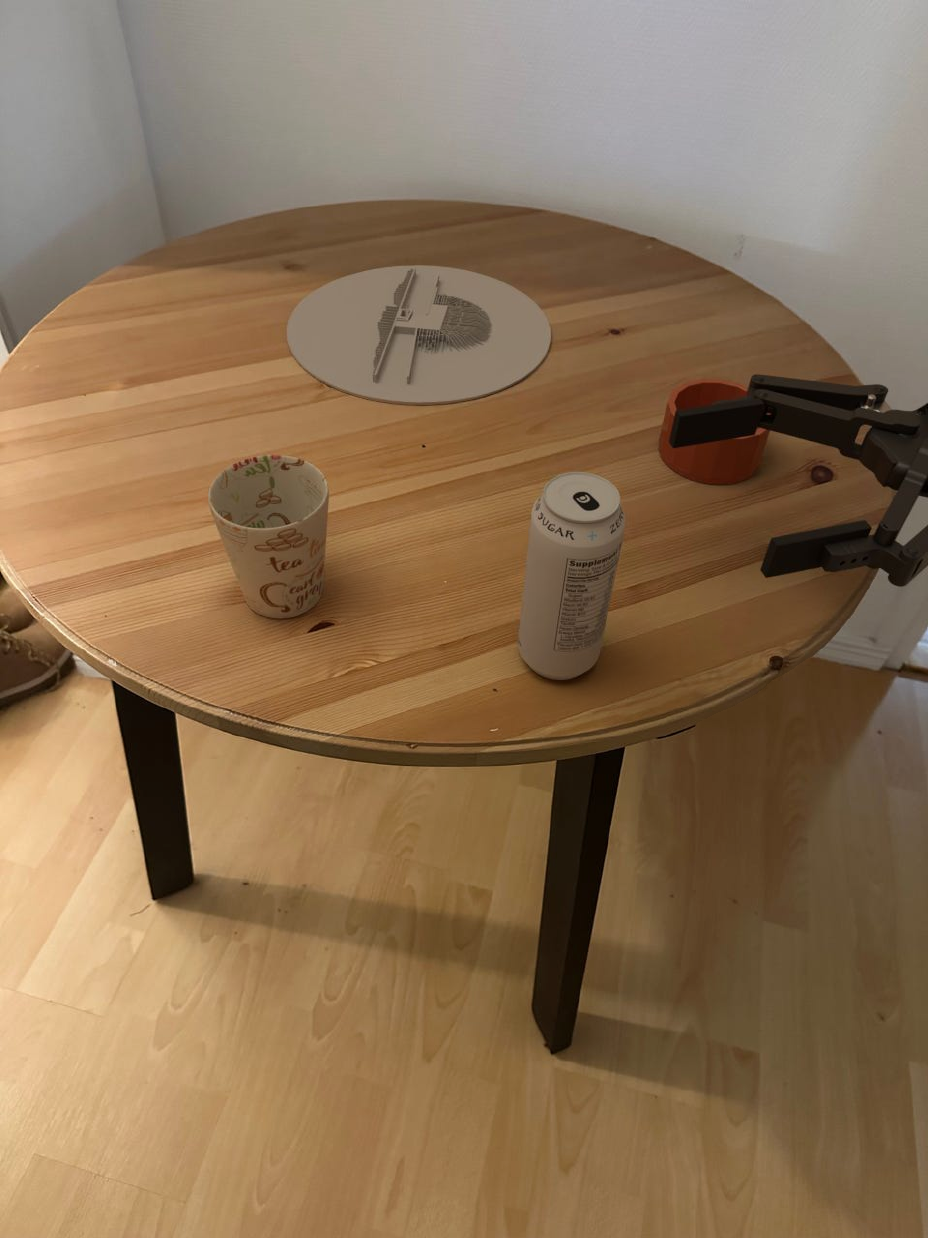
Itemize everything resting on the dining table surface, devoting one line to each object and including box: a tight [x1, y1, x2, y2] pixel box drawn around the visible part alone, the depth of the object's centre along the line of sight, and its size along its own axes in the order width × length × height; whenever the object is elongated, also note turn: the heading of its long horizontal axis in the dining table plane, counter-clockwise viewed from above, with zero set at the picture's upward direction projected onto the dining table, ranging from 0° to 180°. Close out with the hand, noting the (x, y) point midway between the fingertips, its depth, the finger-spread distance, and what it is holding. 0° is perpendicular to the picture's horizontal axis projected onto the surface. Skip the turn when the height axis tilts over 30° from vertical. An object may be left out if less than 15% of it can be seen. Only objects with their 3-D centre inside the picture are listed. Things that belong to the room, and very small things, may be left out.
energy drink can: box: [517, 471, 627, 681], centre depth 65 cm, size 6×6×15 cm
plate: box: [286, 264, 552, 406], centre depth 101 cm, size 28×28×1 cm
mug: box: [207, 454, 330, 620], centre depth 72 cm, size 8×13×10 cm, turn 14°
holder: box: [658, 378, 771, 486], centre depth 86 cm, size 9×9×5 cm
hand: (717, 489), depth 63 cm, fingers open, 13 cm apart
